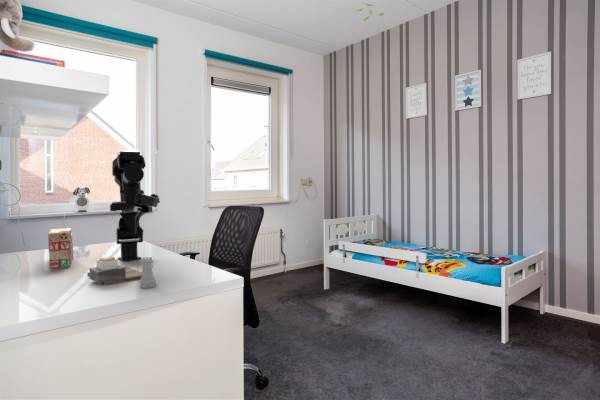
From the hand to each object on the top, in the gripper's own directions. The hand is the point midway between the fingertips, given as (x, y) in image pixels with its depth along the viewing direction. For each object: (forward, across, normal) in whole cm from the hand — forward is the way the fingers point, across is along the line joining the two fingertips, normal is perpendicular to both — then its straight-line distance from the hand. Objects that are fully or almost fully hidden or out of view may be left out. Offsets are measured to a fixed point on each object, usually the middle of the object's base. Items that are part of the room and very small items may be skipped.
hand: (133, 233), depth 128 cm
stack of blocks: (+8, +12, +32) cm, 35 cm away
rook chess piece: (+16, -21, -13) cm, 29 cm away
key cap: (+12, -16, +1) cm, 20 cm away
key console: (+13, -11, +2) cm, 17 cm away
